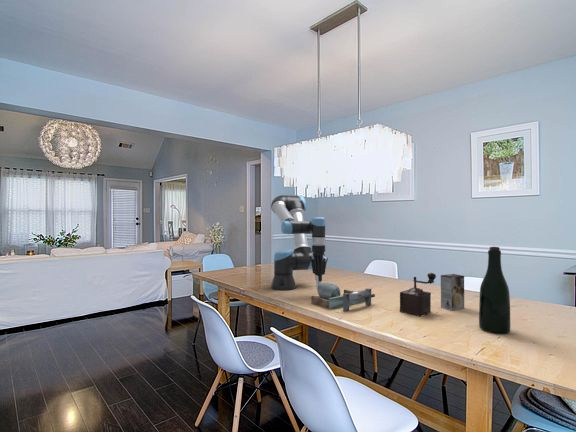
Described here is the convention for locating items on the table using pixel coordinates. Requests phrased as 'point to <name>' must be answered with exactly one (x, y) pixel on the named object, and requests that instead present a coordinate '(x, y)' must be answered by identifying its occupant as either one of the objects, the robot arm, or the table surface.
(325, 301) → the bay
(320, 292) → the grey rounded barrel
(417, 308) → the manual coffee grinder
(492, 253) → the dark green wine bottle
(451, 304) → the coffee box
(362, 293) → the grey clamp
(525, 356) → the table surface
